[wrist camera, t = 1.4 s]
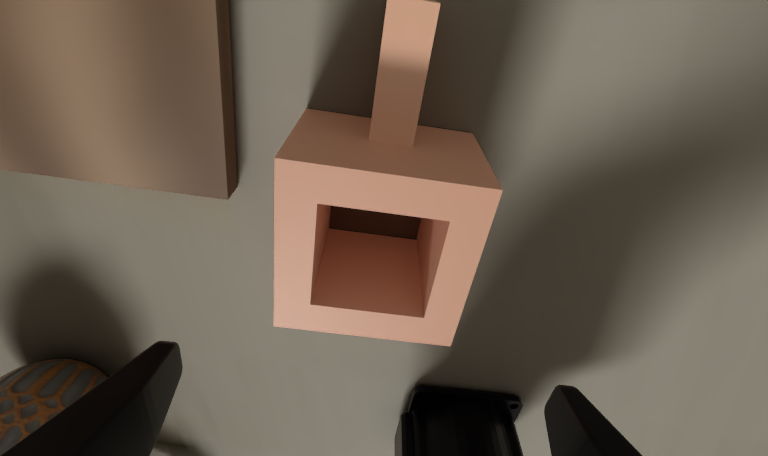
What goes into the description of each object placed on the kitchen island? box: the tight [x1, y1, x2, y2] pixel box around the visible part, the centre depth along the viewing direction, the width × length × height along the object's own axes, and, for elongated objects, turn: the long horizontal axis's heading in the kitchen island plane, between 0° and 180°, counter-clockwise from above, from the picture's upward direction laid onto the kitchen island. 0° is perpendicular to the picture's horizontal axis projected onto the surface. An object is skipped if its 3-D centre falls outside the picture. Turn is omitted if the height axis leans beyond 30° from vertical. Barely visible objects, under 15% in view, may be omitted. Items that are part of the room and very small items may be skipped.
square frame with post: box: [274, 0, 503, 347], centre depth 14 cm, size 11×6×5 cm, turn 172°
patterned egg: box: [0, 359, 108, 455], centre depth 20 cm, size 7×7×9 cm
